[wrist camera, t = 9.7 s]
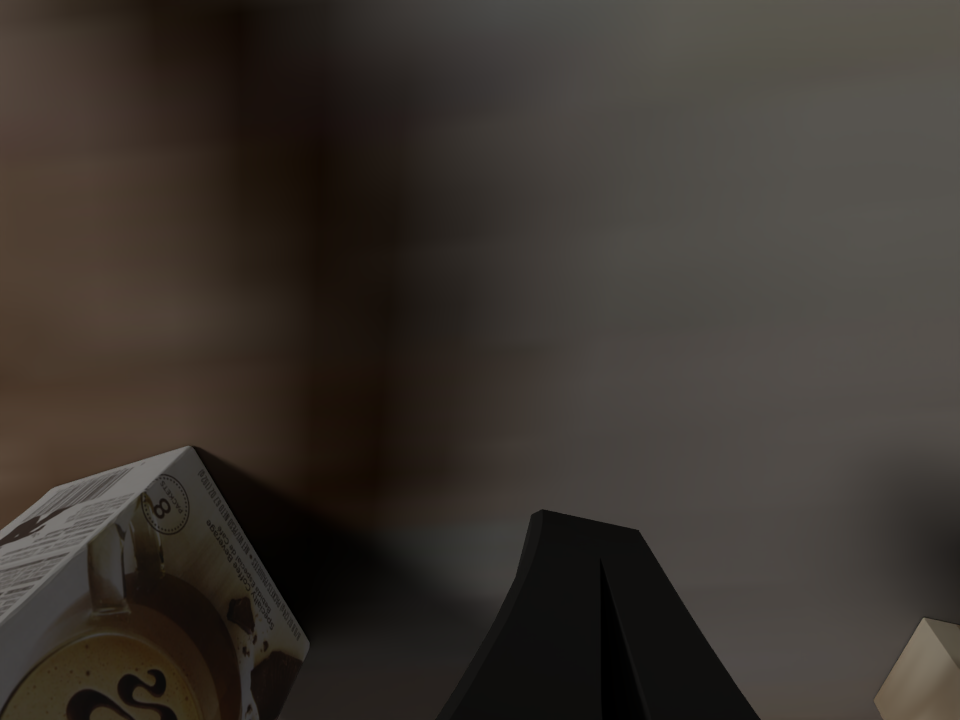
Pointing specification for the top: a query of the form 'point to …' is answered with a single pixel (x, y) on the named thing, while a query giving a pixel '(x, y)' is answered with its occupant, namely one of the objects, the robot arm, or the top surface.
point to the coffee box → (141, 604)
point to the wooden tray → (925, 676)
